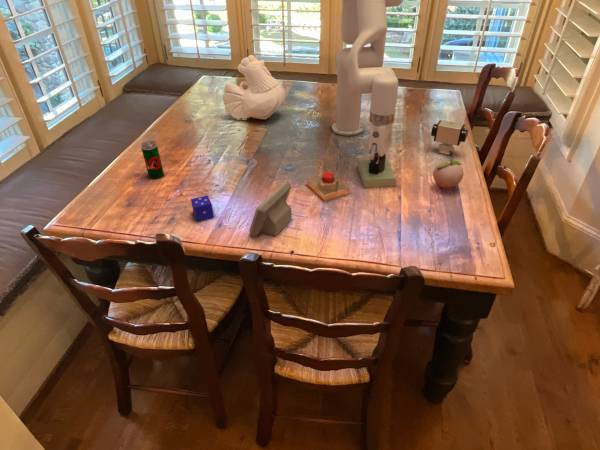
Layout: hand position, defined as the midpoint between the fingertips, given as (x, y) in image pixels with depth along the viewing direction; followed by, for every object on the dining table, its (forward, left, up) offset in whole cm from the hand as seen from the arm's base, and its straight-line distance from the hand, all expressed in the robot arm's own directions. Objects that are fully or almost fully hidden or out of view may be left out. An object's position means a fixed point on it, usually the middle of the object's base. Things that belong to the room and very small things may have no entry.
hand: (376, 168), depth 144 cm
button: (+2, -18, 0) cm, 18 cm away
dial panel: (0, 0, -3) cm, 3 cm away
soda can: (-26, -70, -3) cm, 75 cm away
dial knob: (0, 0, 0) cm, 0 cm away
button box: (+2, -18, -3) cm, 18 cm away
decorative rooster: (-63, -26, -3) cm, 68 cm away
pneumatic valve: (-7, +32, -3) cm, 33 cm away
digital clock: (+14, -40, -3) cm, 43 cm away
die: (+3, -58, -3) cm, 58 cm away
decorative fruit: (+14, +18, -3) cm, 23 cm away
